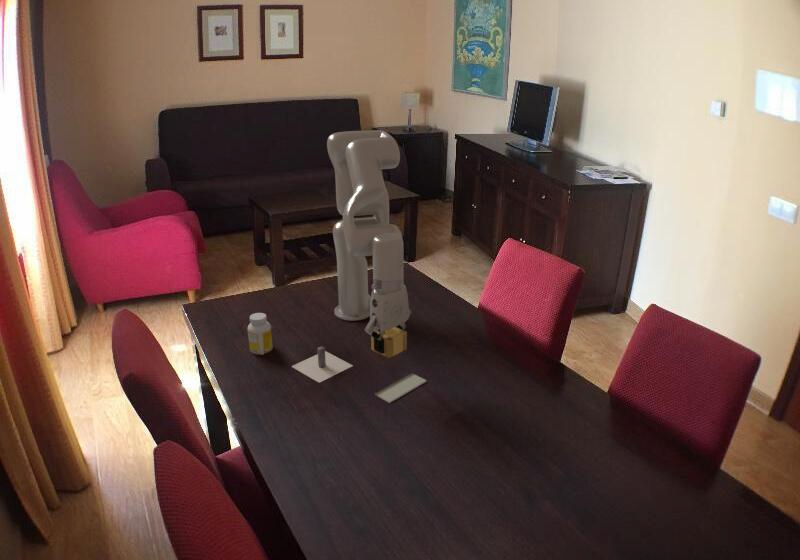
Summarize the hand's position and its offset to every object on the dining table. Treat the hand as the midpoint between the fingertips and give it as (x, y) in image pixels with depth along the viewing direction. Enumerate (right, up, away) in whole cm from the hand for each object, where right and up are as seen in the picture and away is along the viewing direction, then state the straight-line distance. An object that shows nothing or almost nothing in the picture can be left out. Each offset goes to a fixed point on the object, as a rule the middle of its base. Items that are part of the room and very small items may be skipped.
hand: (389, 346), depth 166 cm
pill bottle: (-37, -4, +20) cm, 42 cm away
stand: (-19, -7, +11) cm, 23 cm away
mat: (0, -10, +4) cm, 11 cm away
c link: (0, -1, 0) cm, 1 cm away
